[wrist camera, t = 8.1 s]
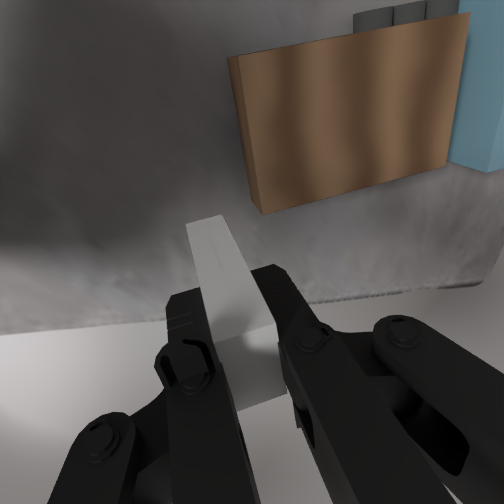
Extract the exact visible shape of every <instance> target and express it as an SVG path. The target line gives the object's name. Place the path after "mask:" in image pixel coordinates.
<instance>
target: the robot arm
mask: <svg viewBox="0 0 504 504" xmlns="http://www.w3.org/2000/svg"><path fill="white" fill-rule="evenodd" d="M185 225H186V229H187V234H188V238H189V242H190V246H191V251H192V255H193V259H194V263H195V267H196V272H197V276H198V280H199V284H200V287H198V288H195V289H191V290H188V291H185V292H181V293H178V294H175V295H171V297H170V299H169V301H168V304H167V306H166V319H167V330H168V343H167V344H166V345H165V346H163V347H162V349H161V350H160V352H159V353H158V355H157V356H156V359H155V365H154V368H155V370H156V372H157V374H158V376H159V378H160V380H161V382H162V384H163V386H164V389H163V391H162V392H161V393H160V394H159V395H158V396H157V397H156V398H155V399H154V400H153V401H152V402H150V403H149V404H148V405H146V406H145V407H143V408H142V409H140V410H139V411H137V412H136V413H134V414H133V415H131V416H128V415H126V414H125V413H122V412H111V413H108V414H105V415H101V416H100V417H98V418H97V419H95V420H94V421H92V422H90V423H89V424H88V425H87V426H86V427H85V428H84V429H83V430H82V431H81V432H80V433H79V434H78V436H77V438H76V439H75V441H74V443H73V444H72V446H71V448H70V450H69V453H68V455H67V458H66V460H65V462H64V465H63V467H62V469H61V472H60V474H59V477H58V479H57V481H56V484H55V486H54V489H53V491H52V493H51V496H50V498H49V501H48V503H47V504H261V502H260V498H259V494H258V490H257V486H256V483H255V479H254V475H253V471H252V467H251V463H250V459H249V456H248V452H247V448H246V444H245V441H244V437H243V433H242V430H241V426H240V423H239V420H238V417H237V411H240V410H243V409H245V408H248V407H251V406H254V405H256V404H259V403H262V402H265V401H267V400H270V399H273V398H276V397H278V396H281V395H284V394H287V388H288V390H289V392H290V395H291V397H292V400H293V406H294V414H295V420H296V425H297V428H300V427H301V428H302V431H303V433H304V436H305V438H306V440H307V443H308V445H309V448H310V450H311V452H312V455H313V457H314V460H315V462H316V464H317V466H318V469H319V471H320V474H321V476H322V478H323V481H324V483H325V486H326V488H327V490H328V493H329V495H330V498H331V500H332V502H333V504H457V503H456V502H455V500H454V499H453V498H452V496H451V495H450V493H449V492H448V490H447V489H446V488H445V486H446V487H447V488H449V490H450V491H451V492H452V493H453V494H454V495H455V496H456V497H457V498H458V499H459V500H460V501H461V502H462V503H463V504H504V374H503V373H501V372H500V371H498V370H497V369H495V368H494V367H492V366H491V365H489V364H487V363H486V362H484V361H483V360H481V359H479V358H478V357H476V356H475V355H473V354H472V353H470V352H469V351H467V350H465V349H464V348H462V347H461V346H459V345H458V344H456V343H455V342H453V341H451V340H450V339H448V338H447V337H445V336H444V335H442V334H440V333H439V332H437V331H436V330H434V329H433V328H431V327H429V326H428V325H426V324H425V323H423V322H421V321H419V320H417V319H415V318H413V317H409V316H404V315H391V316H387V317H384V318H382V319H380V320H379V321H378V322H377V323H376V324H375V325H374V329H373V332H358V333H357V332H356V333H345V332H339V331H335V330H333V329H332V328H331V327H330V326H329V325H327V324H325V323H322V322H320V321H319V320H318V319H317V317H316V316H315V314H314V313H313V311H312V310H311V308H310V307H309V305H308V304H307V302H306V301H305V299H304V298H303V296H302V295H301V293H300V292H299V290H297V287H296V286H295V284H294V283H293V282H292V280H291V278H290V277H289V275H288V274H287V272H286V271H285V270H284V269H282V268H280V267H278V266H277V265H275V264H272V265H269V266H265V267H262V268H258V269H255V270H252V271H250V270H249V268H248V266H247V264H246V262H245V260H244V258H243V256H242V254H241V252H240V250H239V248H238V246H237V244H236V242H235V240H234V238H233V236H232V234H231V232H230V230H229V228H228V226H227V224H226V222H225V220H224V218H223V216H222V214H221V215H217V216H213V217H210V218H206V219H202V220H198V221H195V222H191V223H187V224H185ZM286 386H287V388H286ZM443 484H444V485H445V486H444V485H443Z"/></svg>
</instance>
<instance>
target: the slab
mask: <svg viewBox="0 0 504 504" xmlns="http://www.w3.org/2000/svg"><path fill="white" fill-rule="evenodd" d="M470 14H471V12H467V13H461V14H455V15H449V16H443V17H437V18H432V19H427V20H422V21H416V22H411V23H406V24H401V25H395V26H390V27H385V28H380V29H374V30H369V31H364V32H359V33H353V34H348V35H343V36H338V37H333V38H327V39H322V40H317V41H312V42H306V43H301V44H296V45H291V46H285V47H280V48H275V49H270V50H265V51H259V52H254V53H249V54H244V55H238V56H233V57H228V58H227V61H228V66H229V72H230V78H231V84H232V90H233V95H234V101H235V107H236V113H237V119H238V124H239V130H240V136H241V142H242V148H243V154H244V159H245V165H246V171H247V177H248V183H249V188H250V194H251V200H252V202H253V203H254V204H255V206H256V207H257V208H258V210H259V211H260V212H261V214H262V215H265V214H269V213H272V212H276V211H280V210H284V209H287V208H291V207H295V206H299V205H302V204H306V203H310V202H313V201H317V200H321V199H325V198H328V197H332V196H336V195H339V194H343V193H347V192H351V191H354V190H358V189H362V188H365V187H369V186H373V185H377V184H380V183H384V182H388V181H391V180H395V179H399V178H403V177H406V176H410V175H414V174H418V173H421V172H425V171H429V170H432V169H436V168H440V167H444V166H446V161H447V154H448V148H449V142H450V136H451V130H452V124H453V118H454V112H455V106H456V100H457V93H458V87H459V81H460V75H461V69H462V63H463V57H464V51H465V45H466V39H467V33H468V26H469V20H470Z"/></svg>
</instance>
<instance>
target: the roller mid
mask: <svg viewBox="0 0 504 504" xmlns="http://www.w3.org/2000/svg"><path fill="white" fill-rule="evenodd" d="M425 8H426V0H424V1H418V2H413V3H408V4H403V5H398V6H394V7H393V16H392V26H395V25H401V24H406V23H411V22H416V21H422V20H424V18H425Z"/></svg>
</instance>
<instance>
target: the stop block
mask: <svg viewBox="0 0 504 504" xmlns="http://www.w3.org/2000/svg"><path fill="white" fill-rule="evenodd" d="M467 12H471V14H470V20H469V26H468V33H467V39H466V45H465V51H464V57H463V63H462V69H461V75H460V81H459V87H458V93H457V100H456V106H455V112H454V118H453V124H452V130H451V136H450V142H449V148H448V154H447V161H450V162H453V163H457V164H460V165H463V166H466V167H469V168H472V169H476V170H479V171H482V172H485V173H489V172H492V171H496V170H499V169H503V168H504V0H459V4H458V11H457V14H461V13H467Z"/></svg>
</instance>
